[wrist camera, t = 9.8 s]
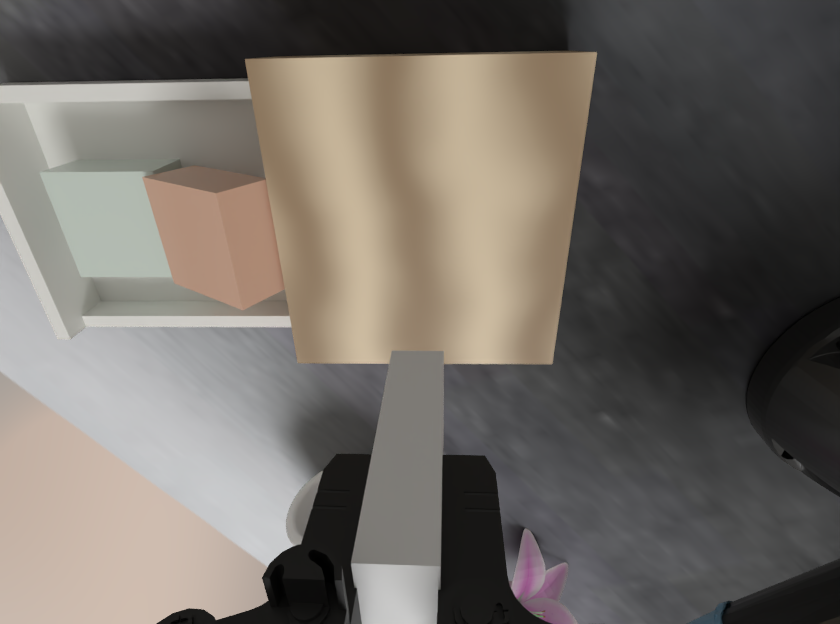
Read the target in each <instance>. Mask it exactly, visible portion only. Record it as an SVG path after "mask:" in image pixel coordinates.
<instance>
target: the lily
mask: <svg viewBox="0 0 840 624" xmlns="http://www.w3.org/2000/svg"><path fill="white" fill-rule="evenodd" d="M567 574H568V564H567V563H566V562H565V563H562V564H559V565H557V566H555V567H553V568H551V569H549V570H547V571H545V564H544V560H543V557H542V554H541V552H540V549H539V547H538V544H537V542H536V540H535V538H534V536H533V534H532V533H531V531H530V530H528V529H527V528H525V529H524V531H523V535H522V539H521V545H520V550H519V555H518V561H517V565H516V569H515V573H514V577H513V581H512V582H511V581H509V584H510V587H511V589H512V591H513V593H514V595H515V597H516V598H517V599H518V601H519V602H520V603H521V604H522V606H523V607H524V608H526V609H527V610H528V611H529V612H531V613H532V614H533V615H535V616H537V617H538V618H540V619H542V620H544V621H546V622H549V623H552V624H578V623H577V621H576V620H575V618H574V617H573V615H572V614H571V613H570V612H569V610H568V609H567V608H566V607H565V606H564V605H562V604H561V603H560V602H559V600H560V597H561V595H562V592H563V589H564V586H565V583H566V578H567Z"/></svg>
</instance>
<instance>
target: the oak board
mask: <svg viewBox="0 0 840 624" xmlns="http://www.w3.org/2000/svg"><path fill="white" fill-rule="evenodd" d="M596 57H597V52H584V51H526V52H475V53H424V54H374V55H323V56H277V57H264V58H252V59H245V63H246V69H247V75H248V80H249V86H250V92H251V98H252V103H253V109H254V115H255V121H256V126H257V132H258V138H259V144H260V149H261V155H262V161H263V166H264V172H265V178H266V184H267V189H268V195H269V201H270V207H271V212H272V218H273V224H274V229H275V235H276V241H277V247H278V252H279V258H280V264H281V270H282V275H283V281H284V287H285V293H286V298H287V304H288V310H289V315H290V321H291V327H292V333H293V338H294V344H295V350H296V356H297V361H298V363H370V364H389V362H390V357H391V352H392V351H444V364H552V363H553V356H554V349H555V342H556V335H557V328H558V321H559V314H560V307H561V300H562V293H563V286H564V279H565V272H566V265H567V259H568V252H569V245H570V238H571V231H572V224H573V217H574V210H575V203H576V196H577V189H578V182H579V175H580V168H581V161H582V154H583V147H584V140H585V133H586V126H587V119H588V112H589V106H590V99H591V92H592V85H593V78H594V71H595V64H596Z"/></svg>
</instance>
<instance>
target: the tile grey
mask: <svg viewBox="0 0 840 624" xmlns="http://www.w3.org/2000/svg"><path fill="white" fill-rule="evenodd" d="M180 168H182V166H181V162H180V159H129V160H75V161H72V162H69V163H66V164H63V165H60V166H57V167H54V168H51V169H48V170H44V171H41V172H39V173H40V176H41V178H42V181H43V183H44V186H45V188H46V191H47V193H48V196H49V198H50V201H51V203H52V206H53V208H54V211H55V213H56V216H57V218H58V221H59V223H60V226H61V228H62V231H63V233H64V236H65V238H66V241H67V243H68V246H69V248H70V251H71V253H72V256H73V258H74V261H75V263H76V266H77V268H78V271H79V273H80V276H81V277H172V274H171V271H170V268H169V265H168V261H167V258H166V255H165V251H164V248H163V245H162V241H161V238H160V235H159V231H158V228H157V225H156V221H155V218H154V215H153V211H152V208H151V205H150V202H149V198H148V195H147V192H146V188H145V185H144V182H143V178H142V177H144V176H149V175H153V174H158V173H162V172H167V171H171V170H176V169H180Z"/></svg>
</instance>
